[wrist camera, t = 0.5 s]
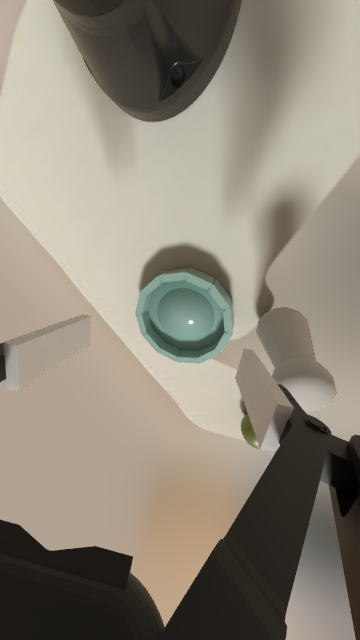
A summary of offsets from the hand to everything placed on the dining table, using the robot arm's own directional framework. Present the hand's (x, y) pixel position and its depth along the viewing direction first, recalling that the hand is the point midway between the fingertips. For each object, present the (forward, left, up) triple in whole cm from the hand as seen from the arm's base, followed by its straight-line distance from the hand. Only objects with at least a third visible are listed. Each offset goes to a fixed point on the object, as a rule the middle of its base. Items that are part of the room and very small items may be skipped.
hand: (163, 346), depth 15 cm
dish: (+4, -1, -13) cm, 14 cm away
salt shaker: (-1, +11, -14) cm, 18 cm away
